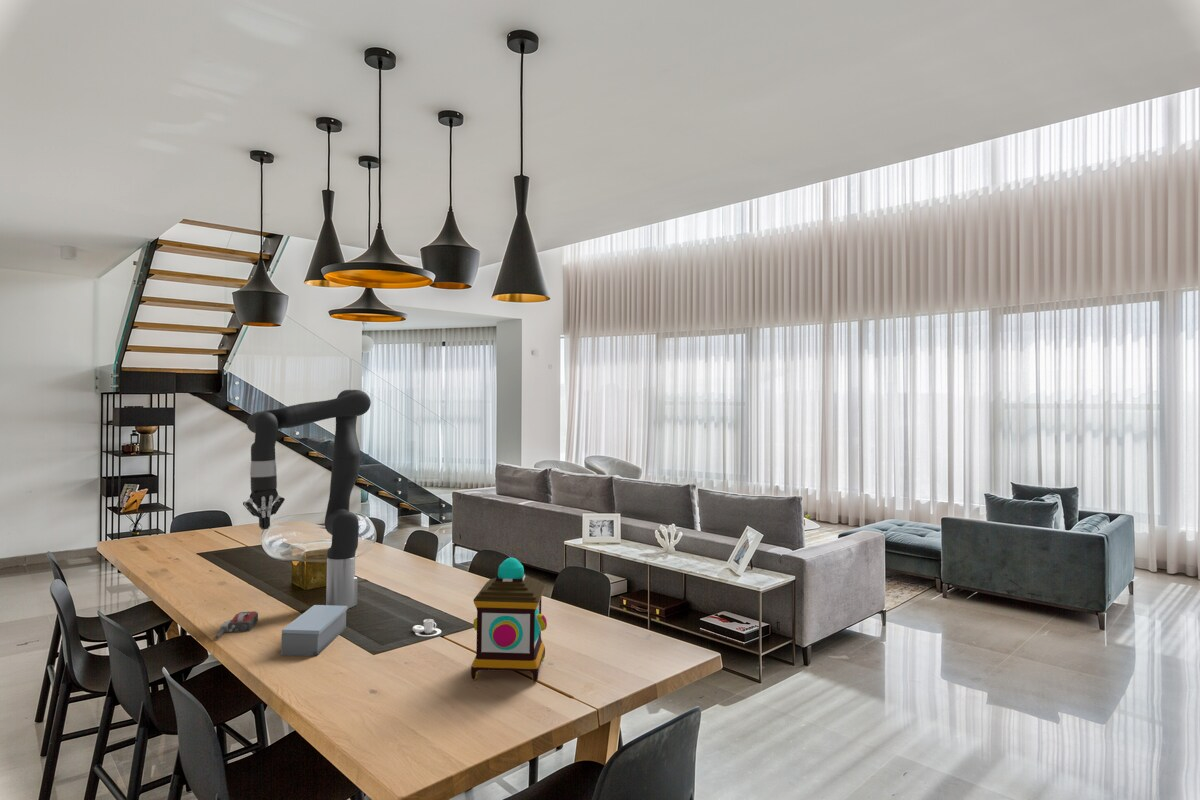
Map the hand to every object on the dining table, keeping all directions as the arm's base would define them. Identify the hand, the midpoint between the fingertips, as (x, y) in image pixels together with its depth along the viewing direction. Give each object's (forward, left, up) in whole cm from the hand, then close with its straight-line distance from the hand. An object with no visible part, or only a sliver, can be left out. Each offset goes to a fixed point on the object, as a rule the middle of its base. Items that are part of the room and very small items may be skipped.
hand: (264, 528), depth 222 cm
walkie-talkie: (+8, -1, -31) cm, 32 cm away
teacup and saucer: (-31, +43, -31) cm, 62 cm away
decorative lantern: (-24, +86, -30) cm, 95 cm away
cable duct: (-2, +27, -30) cm, 41 cm away
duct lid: (-2, +28, -24) cm, 37 cm away
